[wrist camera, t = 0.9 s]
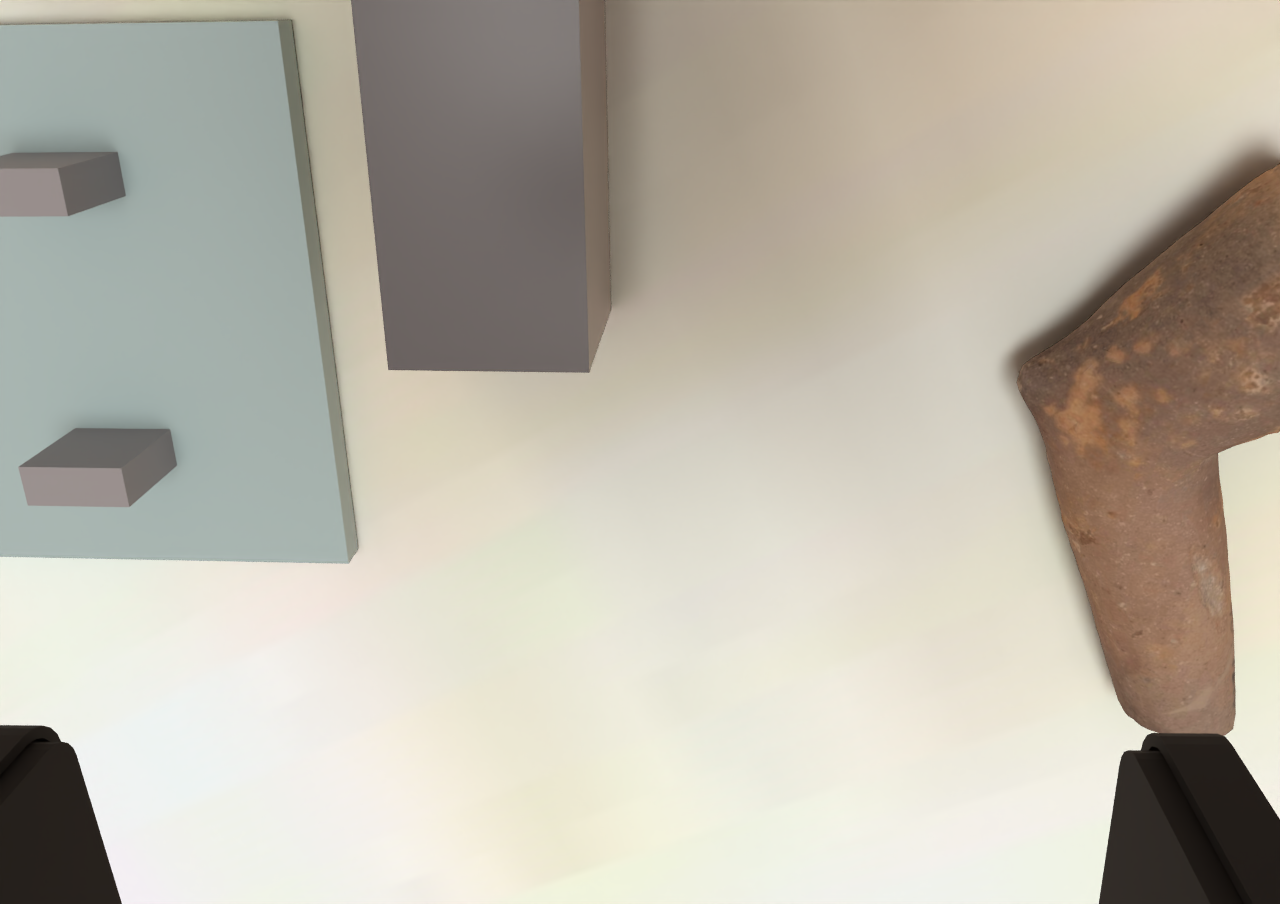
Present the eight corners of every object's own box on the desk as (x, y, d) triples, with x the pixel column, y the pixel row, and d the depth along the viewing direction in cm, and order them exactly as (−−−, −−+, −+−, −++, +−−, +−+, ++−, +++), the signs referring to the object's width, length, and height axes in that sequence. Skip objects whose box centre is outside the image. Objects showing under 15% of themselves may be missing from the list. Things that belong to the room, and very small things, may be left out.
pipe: (1123, 812, 33) (1530, 767, 29) (988, 285, 27) (1474, 153, 24) (1093, 678, 38) (1431, 627, 35) (977, 218, 33) (1368, 104, 29)
